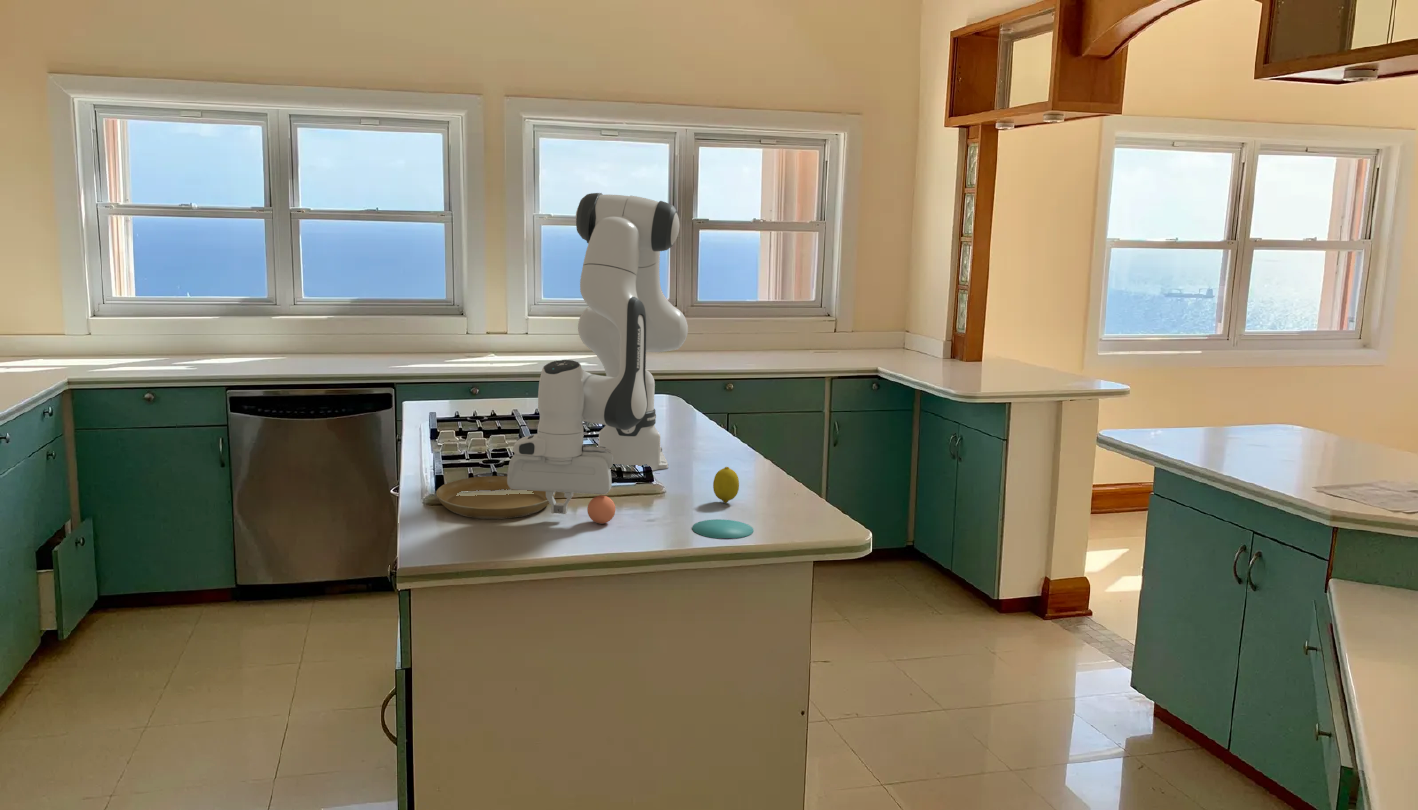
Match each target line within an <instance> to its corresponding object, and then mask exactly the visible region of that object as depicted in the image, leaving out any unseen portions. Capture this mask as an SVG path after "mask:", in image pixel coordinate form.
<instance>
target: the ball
mask: <svg viewBox="0 0 1418 810" xmlns="http://www.w3.org/2000/svg"><path fill="white" fill-rule="evenodd" d="M616 509H617V508H616V504H615V502H614V501H613V500H612V498H610V496H607V495H604V494H600V495H597V496H594V497H593V498H592V499H591V500H590V501H589V502H588V505H587V515H588V518H590V520H591V521H592V522H594V523H597V524H607V523H609V522H611V521H612V519H613V518H614V516H615V514H616Z"/></svg>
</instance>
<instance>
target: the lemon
mask: <svg viewBox="0 0 1418 810" xmlns="http://www.w3.org/2000/svg"><path fill="white" fill-rule="evenodd" d="M739 480H740V479H739V476H738V474H737V473H736V471H735V470H733V469H732V468H730V467H729V466H725V467H723V468H722V469H719V470H718V471H717V472H716V473H715V476H714V478H713V483H712V488H713V492H714V495H715V496H716V498H718V499H719V500H720V501H722V502H723V503H724V504H727V503H728V502H729V501H732V500H733V499H735V498H736V496H737V495H738V493H739V490H740V481H739Z"/></svg>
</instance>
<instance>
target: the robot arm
mask: <svg viewBox="0 0 1418 810" xmlns="http://www.w3.org/2000/svg"><path fill="white" fill-rule="evenodd" d="M680 224H681V223H680V219H679V211H678V210H677V209H676V207H675V206H674V205H673V204H670V203H668V202H665V201H663V200H659V201H658V200H653V199H650V198H646V197H643V196H637V195H625V194H624V195H622V194H603V193H602V192H591V193H587V194H585V196H583V197H582V198H581V199H580V202H579V203H578V206H577V208H576V212H575V226H576V227H575V228H576V232H577V234H578V235H579V236H580V237H581V238H582V240H584V241H586V243H587V248H586V251H585V255H584V259H583V263H582V264H583V265H582V267H581V269H582V271H581V275H580V280H579V282H580V283H579V291H580V295H581V297H582V299H583V301H584V302H585V304H586V305H587V306H588V307H586V308H585V309H584V310H583V312H582V313H581V315H580V317H579V319H578V325H577V330H578V335H579V338H580V340H581V341H582V344H584V345H585V346H586V347H587V348H588V349H589V350H591V351H592V352H593V353H594V355H596V357H597V358H598V359H599V362H601V364H602V366H603V369H604V372H605V375H599V374H594V373H591V372H589V371H586V370H585V369H583V368H582V365H581V363H580V362H579V361H576V360H573V359H561V360H554V361H549V362H548V363H547V364H544V366H543V367H542V370H541V372H540V377H539V382H538V393H537V410H538V413H539V422H538V425H537V433H534V434H532V435H528V436H523V437H521V438H519V439H518V440H517V441H515V443H513V450H512V451H513V453H514V455H513V456H512V457H511V458H510V460H509V463H508V468H507V475H506V476H507V484H508V486H509V487H510V489H513V490H531V491H546V498H547V500H548V501H549V505H550V507H551V509H550V512H551V513H550V514H561V515H567V513H568V504H569V503H570V501H571V499H572V498H573V496H574V494H587V495H589V494H590V495H591V494H592V495H607V494H608V493H609V492H610V490H611V489H612V482H613V481H612V471H611V469H610V468H611V467H612V466H613V464H624V465H638V466H642V465H644V464H647V465H648V466H650V467H651V468H652V469H653V470H652V471H657V470H663V469H668V468H669V463H668V460H667V459H666V457H665V454H664V452H663V448H662V446H661V433H660V432H659V431H658V430H657V428H656V426H655V424H656V421H657V420H656V418H657V413H656V409H655V388H656V387H655V386H656V383H655V379H654V376H653V374H652V373H651V372H650V371H649V370H647V367H646V366H647V363H646V362H647V353H663V352H665V353H666V352H670V351H676V350H679V349H680V348H681V347H682V346H683V345H684V343H685V342H686V340H687V337H688V334H689V326H688V320H687V317H685V315H684V313H683V312H682V311H681V310H680V309H678V308H677V307H675V306H674V305H673V304H672V303H671V302H670V301H669V300H668V299H667V297H666V296H665V294H664V292H663V290H662V287H661V278H660V264H661V263H660V261H661V257H660V255H661V252H666V251H668V250H669V249H670V248H673V246H674V244H675V242H676V240H677V238H678V236H679V232H680ZM583 422H587V423H590V424H597V425H603V426H604V427H603V428H602V429H601V430H599V432H598V433H599V434H598V444H597V445H598V446H593V445H584V424H583ZM555 492H556V493H564V496H563V497H564V498H566V499H565V501H564V502H563V503H562V502H557V501H556V499H555V496H554V497H553V495H554V494H555V495H556V493H555Z"/></svg>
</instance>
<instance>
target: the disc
mask: <svg viewBox="0 0 1418 810" xmlns="http://www.w3.org/2000/svg"><path fill="white" fill-rule="evenodd" d="M692 531H693V532H694V533H696V534H697V535H699V536H703V537H707V538H713V539H718V538H736V539H742V537H743V538H747V537H749V536H751V535H752V534H753V533H754V528H753V526H751V525H749V524H748V523H745V522H742V521H738V520H732V519H705V520H701V521H698V522H695V523H694V524H693V525H692Z"/></svg>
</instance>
